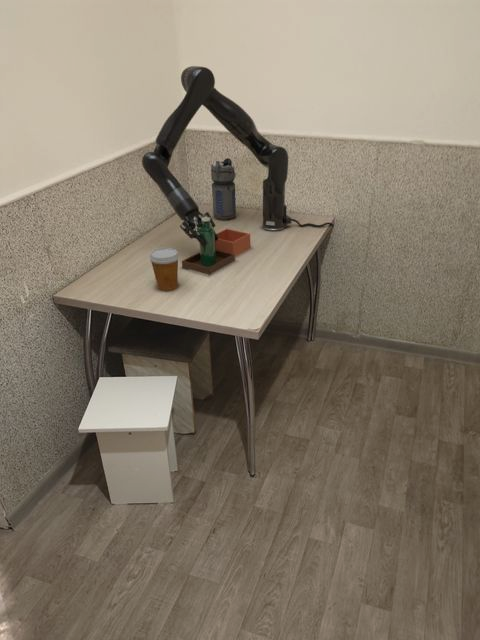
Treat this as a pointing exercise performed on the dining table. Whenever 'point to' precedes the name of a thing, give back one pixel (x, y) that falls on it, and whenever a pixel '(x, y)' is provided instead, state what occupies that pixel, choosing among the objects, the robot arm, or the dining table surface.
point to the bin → (232, 241)
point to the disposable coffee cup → (165, 267)
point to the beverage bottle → (223, 190)
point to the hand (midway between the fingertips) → (211, 242)
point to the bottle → (209, 250)
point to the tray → (195, 265)
